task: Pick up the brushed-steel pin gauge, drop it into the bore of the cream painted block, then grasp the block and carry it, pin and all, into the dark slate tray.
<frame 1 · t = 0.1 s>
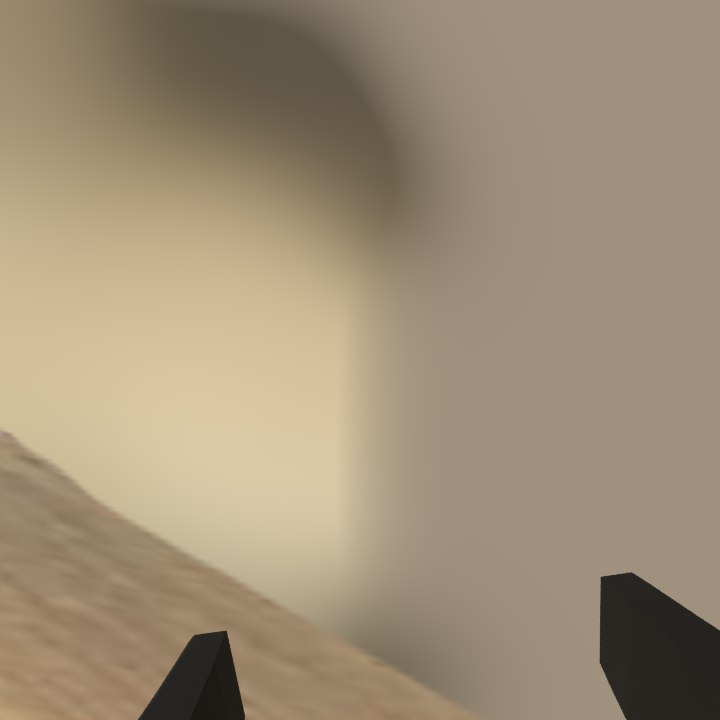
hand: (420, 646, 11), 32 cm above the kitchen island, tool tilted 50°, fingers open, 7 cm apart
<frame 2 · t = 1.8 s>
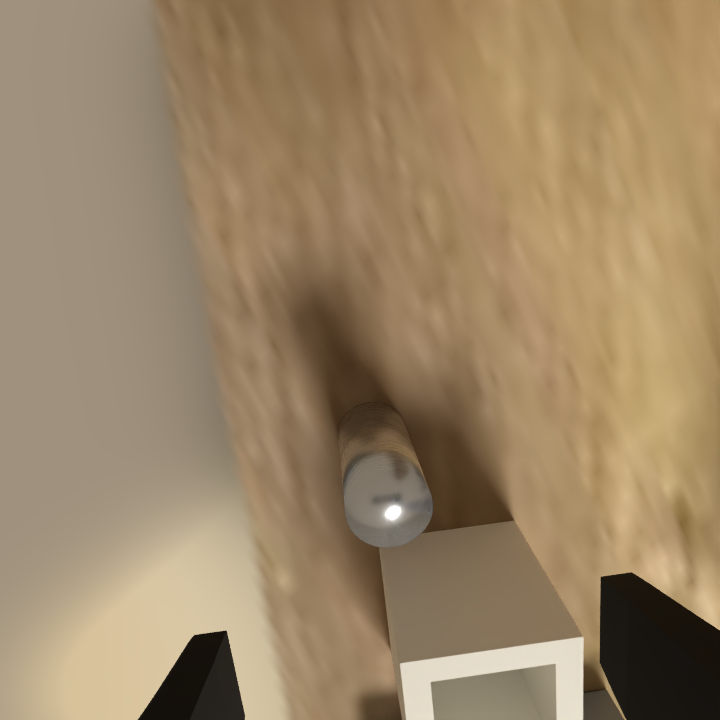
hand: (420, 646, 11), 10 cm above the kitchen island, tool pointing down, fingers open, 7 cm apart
cream block: (450, 586, 23), on the kitchen island
pin gauge: (372, 434, 21), on the kitchen island
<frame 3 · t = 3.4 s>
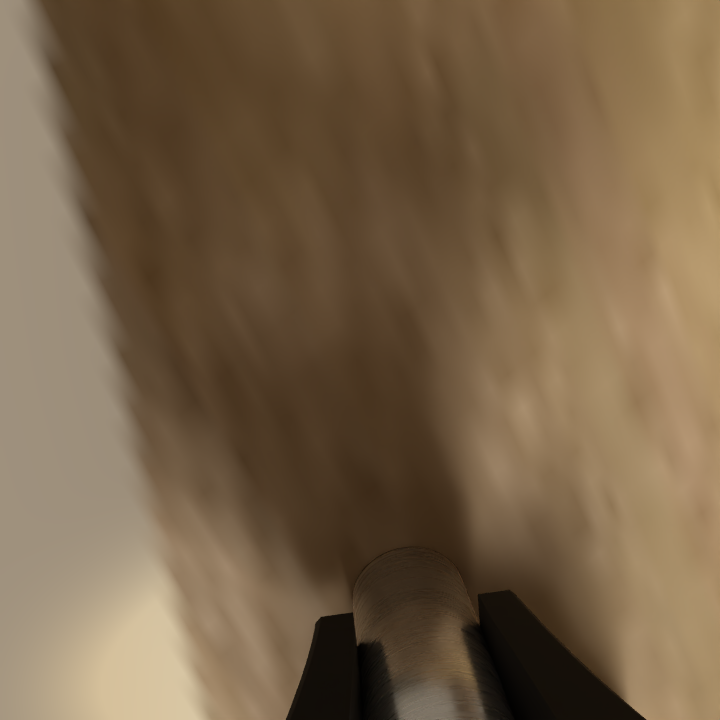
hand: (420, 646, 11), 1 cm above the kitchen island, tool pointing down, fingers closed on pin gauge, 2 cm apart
pin gauge: (408, 596, 12), on the kitchen island, touching gripper
when the fingers open (7 cm above the kitchen island, at t = 5.7 s): pin gauge drops 5 cm, resting on cream block.
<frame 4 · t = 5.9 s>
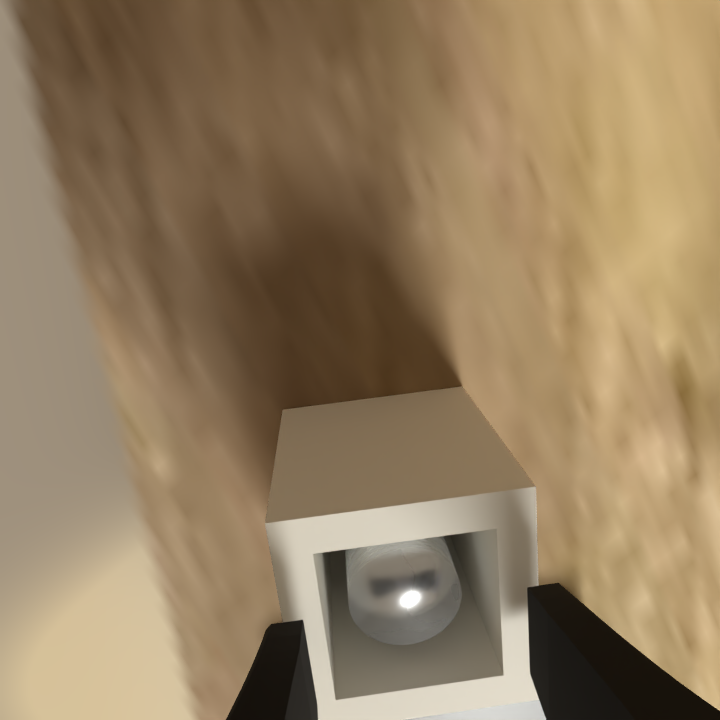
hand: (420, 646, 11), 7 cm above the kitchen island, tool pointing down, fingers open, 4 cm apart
cream block: (381, 477, 18), on the kitchen island, touching pin gauge
pin gauge: (381, 482, 17), resting on cream block
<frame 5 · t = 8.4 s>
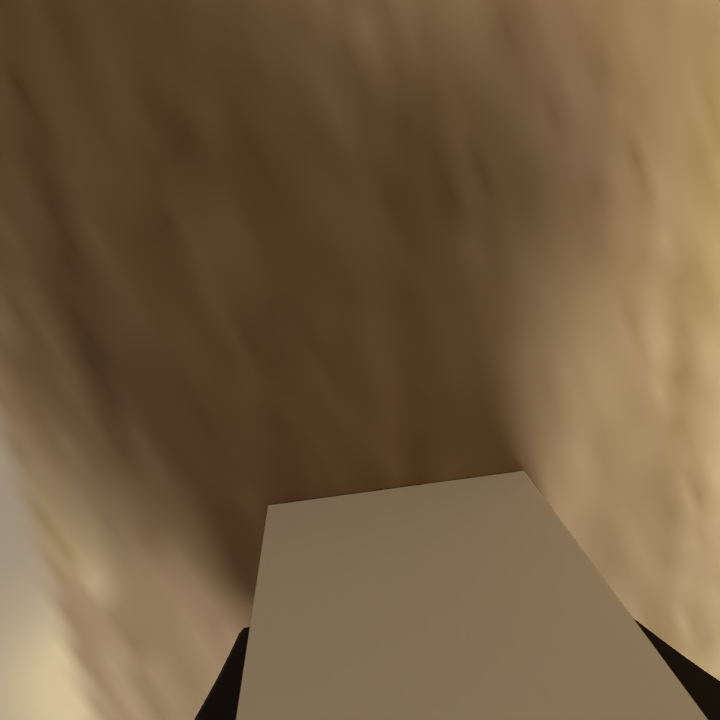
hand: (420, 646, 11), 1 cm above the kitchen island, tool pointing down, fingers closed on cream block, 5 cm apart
cream block: (408, 595, 12), on the kitchen island, touching gripper, pin gauge
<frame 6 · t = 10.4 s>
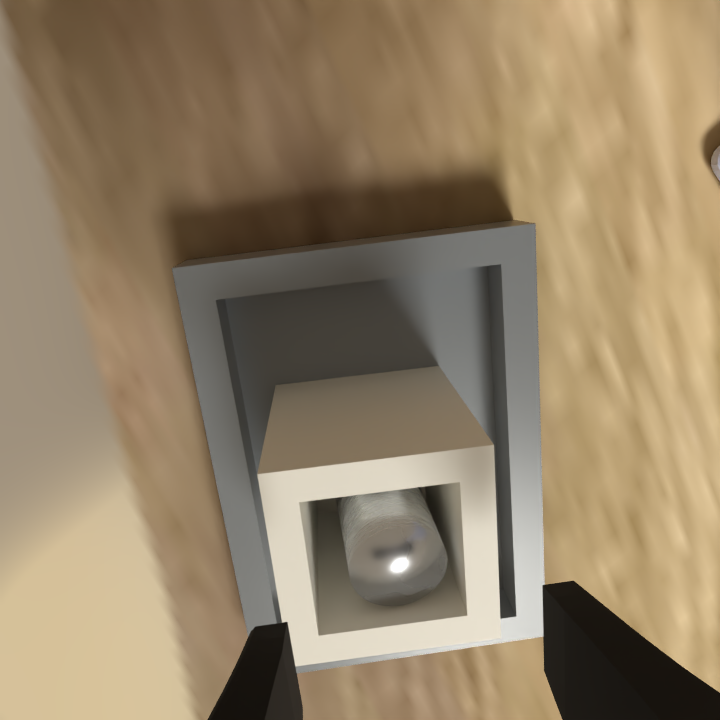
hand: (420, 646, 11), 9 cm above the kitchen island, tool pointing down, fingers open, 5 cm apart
tray: (376, 449, 20), on the kitchen island
cream block: (365, 449, 19), resting on pin gauge, tray
pin gauge: (366, 457, 19), point 1 cm above the kitchen island, tilted 7°, touching cream block
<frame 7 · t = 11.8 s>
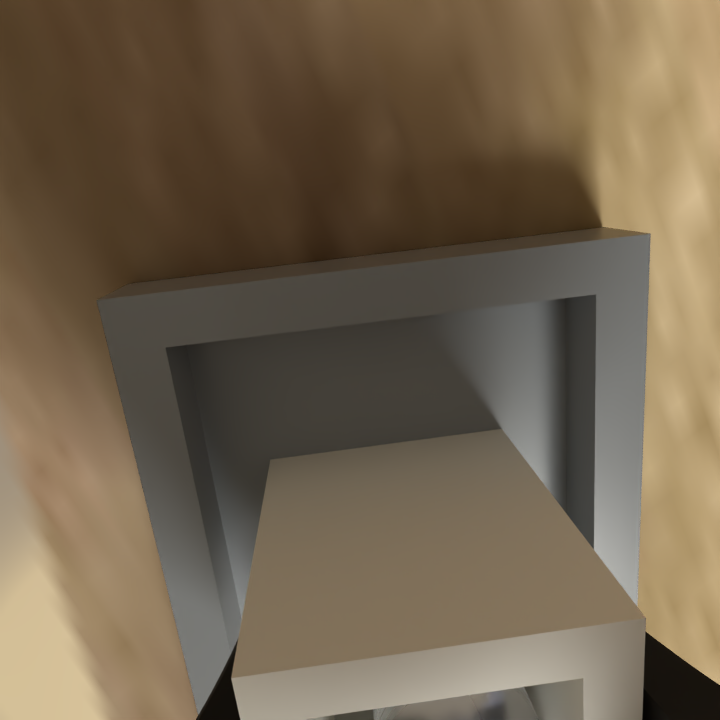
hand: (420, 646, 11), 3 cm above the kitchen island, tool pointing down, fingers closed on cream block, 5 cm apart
tray: (399, 543, 14), on the kitchen island
cream block: (397, 544, 14), resting on tray, touching gripper, pin gauge
pin gauge: (407, 556, 13), point 1 cm above the kitchen island, touching cream block
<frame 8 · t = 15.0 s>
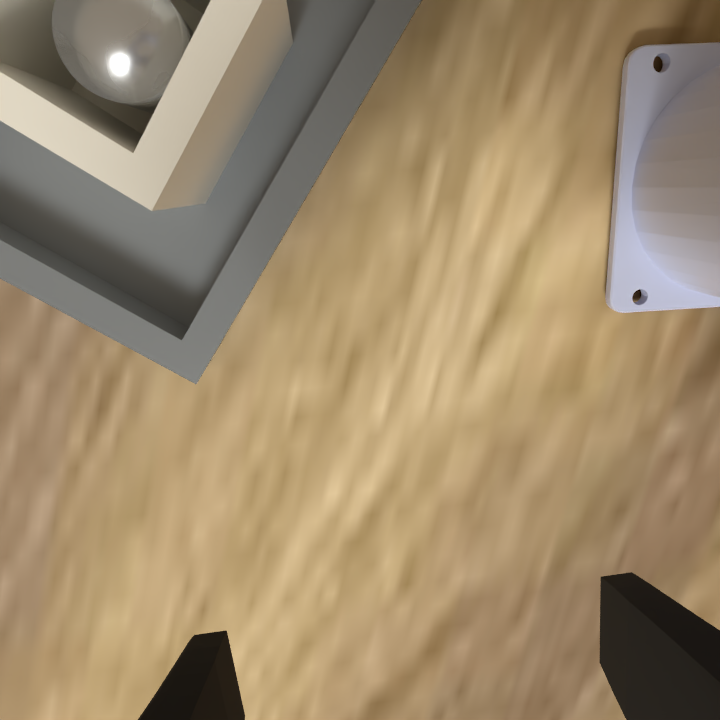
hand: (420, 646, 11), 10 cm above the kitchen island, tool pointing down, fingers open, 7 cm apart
tray: (168, 85, 17), on the kitchen island
cream block: (166, 72, 16), resting on pin gauge, tray
pin gauge: (167, 70, 16), point 1 cm above the kitchen island, touching cream block
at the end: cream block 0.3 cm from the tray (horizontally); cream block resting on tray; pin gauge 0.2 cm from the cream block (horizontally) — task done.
